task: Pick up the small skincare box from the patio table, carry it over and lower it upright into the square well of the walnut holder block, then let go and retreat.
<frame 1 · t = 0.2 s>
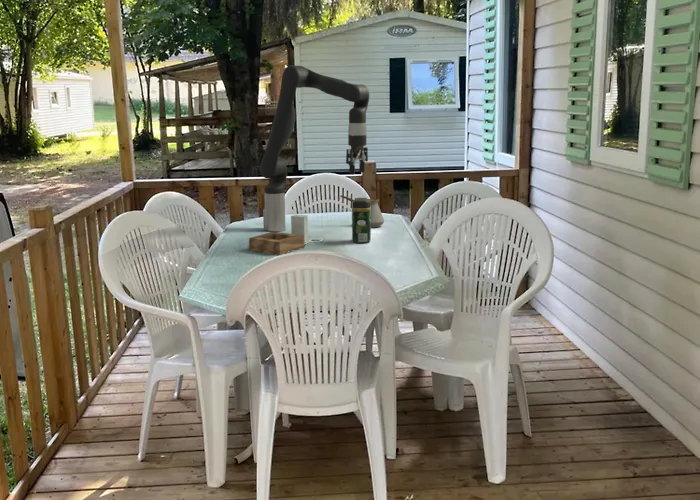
hand: (357, 173, 287), 29 cm above the table, tool pointing down, fingers open, 8 cm apart
holder: (276, 248, 276), on the table
coffee jar: (361, 242, 291), on the table
coffee pot: (361, 226, 325), on the table
skincare box: (299, 244, 286), on the table
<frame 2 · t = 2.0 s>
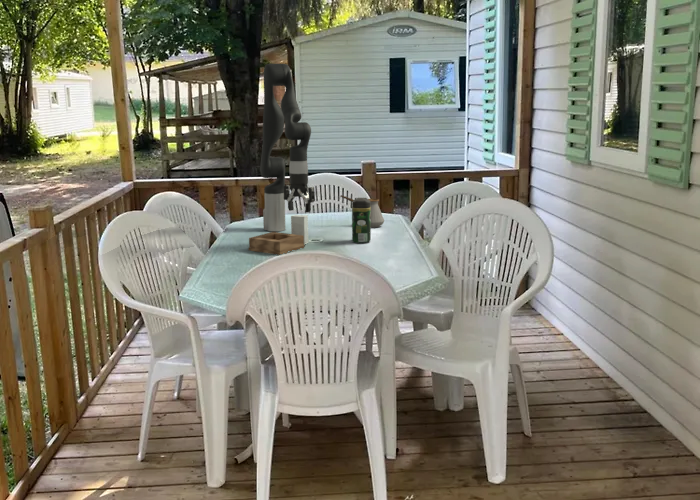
hand: (299, 211, 283), 14 cm above the table, tool pointing down, fingers open, 8 cm apart
nothing on the table moved.
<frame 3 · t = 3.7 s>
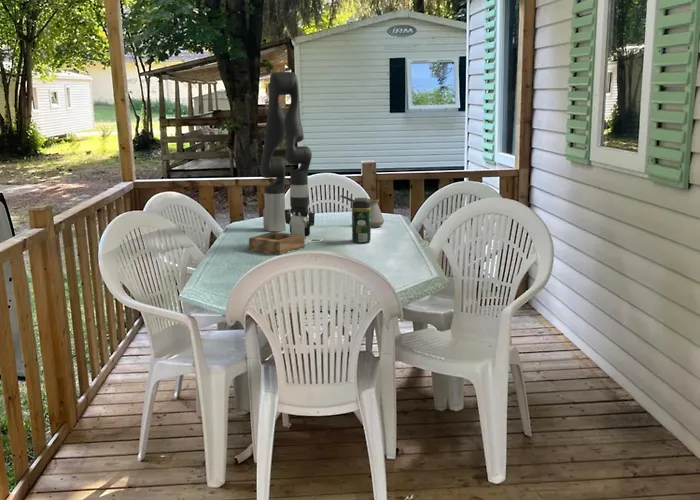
hand: (299, 235, 285), 4 cm above the table, tool pointing down, fingers closed on skincare box, 6 cm apart
skincare box: (299, 244, 286), on the table, touching gripper
everything else where it was.
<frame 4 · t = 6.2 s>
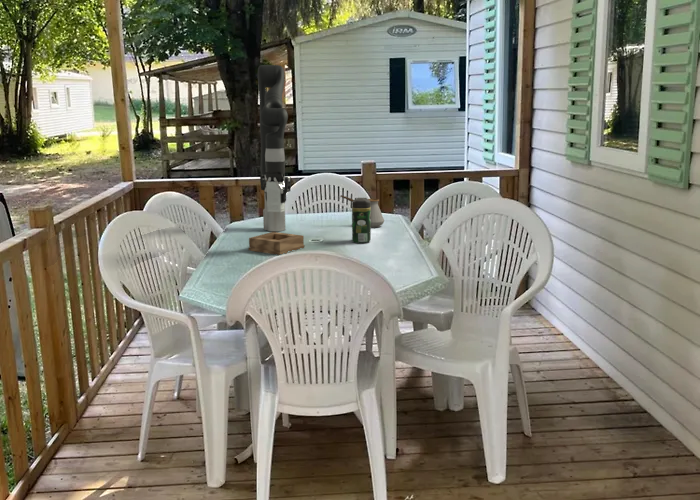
hand: (275, 201, 272), 19 cm above the table, tool pointing down, fingers closed on skincare box, 6 cm apart
skincare box: (276, 211, 273), point 15 cm above the table, touching gripper
everything else where it was.
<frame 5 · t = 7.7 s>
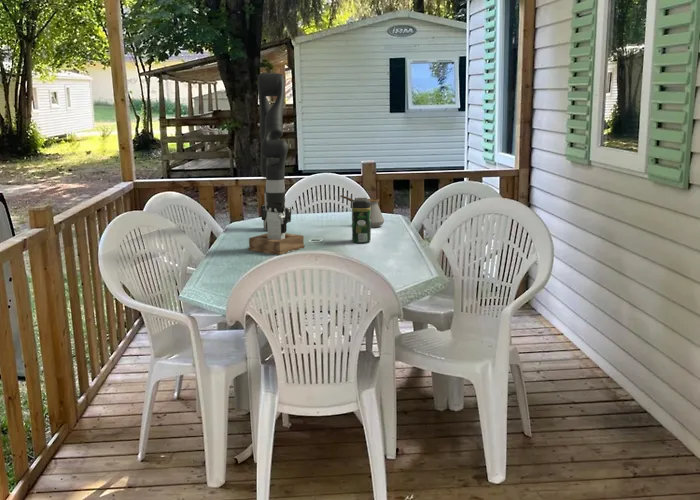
hand: (276, 231, 275), 7 cm above the table, tool pointing down, fingers closed on skincare box, 6 cm apart
skincare box: (276, 241, 276), point 3 cm above the table, touching gripper
everything else where it was.
when the fingers open (7 cm above the table, at t = 8.7 s): skincare box drops 2 cm, resting on holder.
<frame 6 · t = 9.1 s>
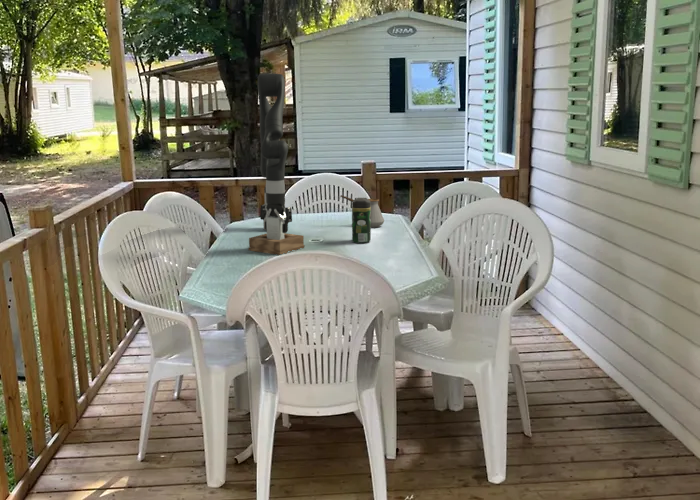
hand: (276, 231, 275), 7 cm above the table, tool pointing down, fingers open, 8 cm apart
skincare box: (275, 246, 276), point 1 cm above the table, touching holder
everything else where it was.
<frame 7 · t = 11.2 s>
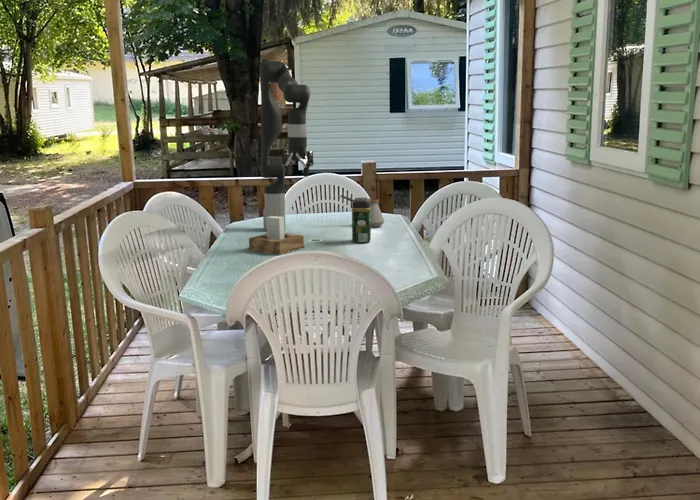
hand: (297, 175, 279), 28 cm above the table, tool pointing down, fingers open, 8 cm apart
nothing on the table moved.
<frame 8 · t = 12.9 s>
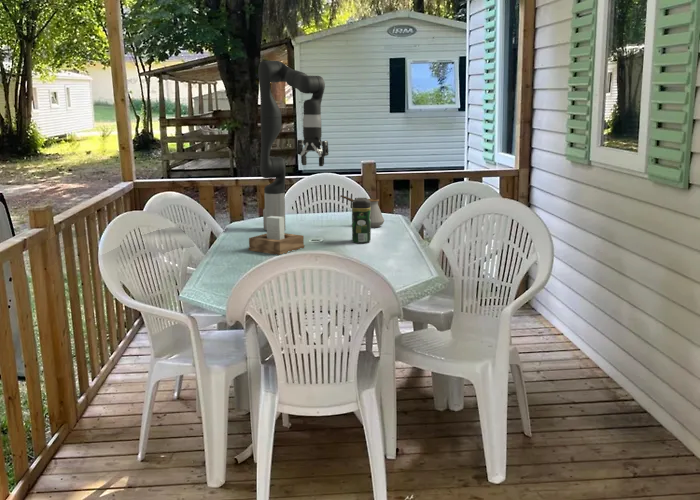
hand: (312, 165, 284), 32 cm above the table, tool pointing down, fingers open, 8 cm apart
nothing on the table moved.
at the end: skincare box inside the target area on the holder (0.6 cm from its centre), point 0.8 cm above the holder's base; skincare box tilted 0°; the gripper is holding nothing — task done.
